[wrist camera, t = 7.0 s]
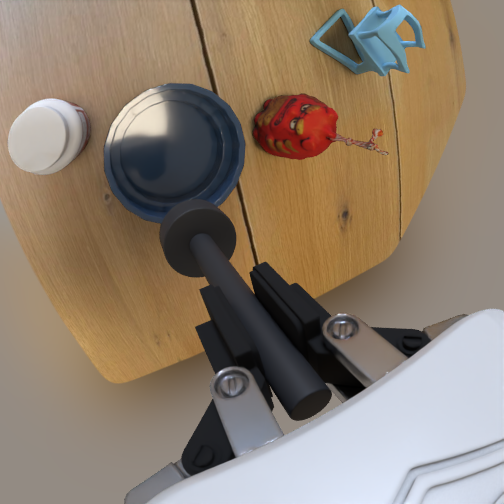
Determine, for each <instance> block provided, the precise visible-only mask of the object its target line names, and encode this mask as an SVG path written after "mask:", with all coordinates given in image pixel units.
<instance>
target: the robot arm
mask: <svg viewBox="0 0 504 504" xmlns="http://www.w3.org/2000/svg"><path fill="white" fill-rule="evenodd" d="M250 277H251V281H252V285H253V289H254V292H255V296H256V297H257V298H258V299H259V301H260V302H261V303H262V305H263V306H264V307H265V308H266V310H267V311H268V312H269V314H270V315H271V316H272V317H273V319H274V320H275V321H276V322H277V324H278V325H279V326H280V328H281V329H282V330H283V331H284V333H285V334H286V335H287V336H288V338H289V339H290V340H291V341H292V343H293V344H294V345H295V346H296V348H297V349H298V350H299V351H300V353H301V354H302V355H303V356H304V358H305V359H306V360H307V361H308V363H309V364H310V365H311V366H312V368H313V369H314V370H315V371H316V373H317V374H318V375H319V376H320V378H321V379H322V380H323V381H324V383H327V386H328V387H329V389H330V390H331V391H332V392H333V393H334V394H335V395H336V396H337V397H338V399H339V400H340V401H341V402H342V404H341V405H339V406H337V407H336V408H334V409H332V410H331V411H329V412H327V413H325V414H324V415H322V416H320V417H318V418H317V419H315V420H313V421H311V422H309V423H307V424H306V425H304V426H302V427H300V428H298V429H296V430H294V431H292V432H291V433H289V434H287V435H285V436H284V434H283V432H282V431H281V428H280V427H279V425H278V423H277V421H276V419H275V417H274V415H273V413H272V410H273V408H274V405H273V402H272V399H271V397H273V395H272V392H271V389H270V386H269V384H268V382H267V381H266V379H265V370H264V367H263V364H262V361H261V357H260V354H259V351H258V349H257V347H256V345H255V343H254V341H253V339H252V338H251V336H250V335H249V333H248V332H247V330H246V329H245V327H244V325H243V324H242V322H241V321H240V319H239V318H238V316H237V314H236V313H235V311H234V310H233V308H232V306H231V305H230V303H229V302H228V300H227V298H226V297H225V295H224V294H223V292H222V290H221V289H220V287H219V286H216V287H214V286H213V285H212V284H211V285H209V286H206V287H204V288H202V289H199V290H200V293H201V295H202V298H203V300H204V303H205V305H206V308H207V310H208V313H209V315H210V318H211V320H210V321H208V322H206V323H203V324H201V325H198V326H196V327H195V328H196V331H197V333H198V335H199V338H200V340H201V342H202V345H203V347H204V349H205V352H206V354H207V356H208V359H209V361H210V363H211V365H212V367H213V370H214V372H215V375H214V377H213V378H212V380H211V383H210V391H211V394H212V397H213V399H212V401H211V403H210V405H209V406H208V408H207V410H206V412H205V414H204V416H203V417H202V419H201V421H200V423H199V424H198V426H197V428H196V430H195V431H194V433H193V435H192V437H191V439H190V440H189V442H188V444H187V446H186V448H185V449H184V451H183V454H182V458H181V459H180V460H178V461H177V462H176V463H174V464H173V463H172V462H171V463H170V464H168V465H167V466H166V467H164V468H163V469H161V470H160V471H158V472H157V473H156V474H154V475H153V476H151V477H150V478H148V479H147V480H145V481H144V482H142V483H141V484H139V485H138V486H136V487H135V488H133V489H132V490H130V491H129V492H128V493H127V495H126V497H125V499H124V500H125V503H124V504H504V311H502V310H498V309H487V310H482V311H479V312H476V313H473V314H471V315H465V314H463V315H458V316H455V317H453V318H450V319H448V320H445V321H442V322H440V323H437V324H434V325H431V326H428V327H425V328H424V329H423V331H422V332H421V331H419V330H415V329H396V328H376V327H369V326H368V325H367V324H366V323H364V322H363V321H362V320H361V319H360V318H358V317H356V316H355V315H352V314H349V313H340V314H335V315H333V316H331V315H330V314H329V313H327V311H326V310H325V309H324V308H322V306H320V305H319V304H318V303H317V302H316V301H315V300H314V299H313V298H312V297H311V296H310V295H309V294H308V293H307V292H306V291H305V290H304V289H303V288H302V287H301V286H300V285H299V284H297V283H294V284H291V285H289V284H288V283H287V282H286V281H285V280H284V279H283V278H282V277H281V276H280V275H279V274H278V273H277V272H276V271H275V270H274V269H273V268H272V267H271V266H270V265H269V264H268V263H267V262H264V263H261V264H259V265H256V266H254V267H253V271H251V272H250Z"/></svg>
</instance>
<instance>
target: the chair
mask: <svg viewBox="0 0 504 504" xmlns="http://www.w3.org/2000/svg"><path fill="white" fill-rule="evenodd" d="M340 17H341V18H342V20H343V22H344V24H345V26H346V28H347V30H348V33H349V35H348V36H349V37H350V38H351V39H352V41H353V43H354V46H355V48H356V50H357V52H358V54H359V56H360V58H361V59H362V61H363V62H362V63H360V64H357V63H355V62H354V61H353V60H351V59H350V58H348V57H346V56H345V55H343V54H341V53H340V52H338V51H336V50H335V49H333V48H331V47H329V46H328V45H326V44H324V43H322V42H321V41H320V40H319V39H320V37H321V36H322V35H323V34H324V33H325V32H326V31H327V30H328V29H329V28H330V27H331V26H332V25H333V24H334V23H335V22H336V21H337V20H338V19H339V18H340ZM404 19H405V20H406V21H407V22H408V23H409V24H410V25H411V27H412V28H413V30H414V33H415V39H416V42H414V41H403V40H402V39H401V38H400V36H399V35H398V34H397V32H396V28H397V27H398V26H399V24H400V23H401V22H402V21H403V20H404ZM310 43H311V44H312V45H313V46H315V47H316V48H318V49H319V50H321V51H323V52H324V53H326V54H328V55H329V56H331V57H333V58H334V59H336V60H337V61H339V62H340V63H342V64H344V65H345V66H346V67H348V68H349V69H350V70H352V71H353V72H354V73H355V74H361V73H364V72H368V71H374V72H377V73H378V74H379V75H380V76H386V74H387V73H388V72H389V70H390V69H396V70H399V71H402V72H405V73H409V68H408V66H407V61H406V54H405V50H404V49H405V48H406V47H420V48H424V49H425V48H426V47H425V44H424V41H423V35H422V29H421V26H420V23H419V22H418V21H417V19H416V18H415V17H414V16H413V15H412V14H411V13H410V12H408V11H407V10H406V9H405V8H403V7H402V6H401V5H397V6H395V7H393V8H391V9H390V10H388V11H385V12H382V11H381V10H380V9H379V7H373V8H372V9H371V10H370V11H369V12H368V13H367V15H366V16H365V17H364V19H363V20H362V21H361V22H360V23H359V24H358V25H357V26H356V27H354V25H353V23H352V21H351V19H350V17H349V16H348V14H347V12H346V11H345V10H344V9H340V10H338V11H336V12H335V13H334V14H333V16H332V17H331V18H330V19H329V20H328V21H327V22H326V23H325V24H324V25H323V26H322V27H321V28H320V29H319V30H318V31H317V32H316V34H315V35H314V36H313V37H312V38H311V39H310ZM396 60H397V63H398V64H396V63H394V62H395V61H396Z"/></svg>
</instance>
